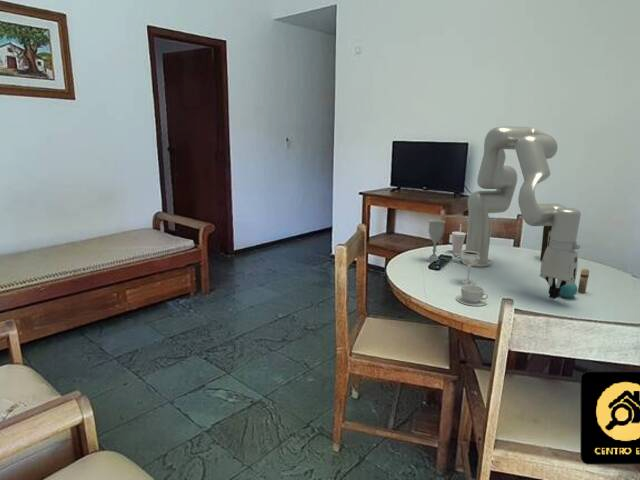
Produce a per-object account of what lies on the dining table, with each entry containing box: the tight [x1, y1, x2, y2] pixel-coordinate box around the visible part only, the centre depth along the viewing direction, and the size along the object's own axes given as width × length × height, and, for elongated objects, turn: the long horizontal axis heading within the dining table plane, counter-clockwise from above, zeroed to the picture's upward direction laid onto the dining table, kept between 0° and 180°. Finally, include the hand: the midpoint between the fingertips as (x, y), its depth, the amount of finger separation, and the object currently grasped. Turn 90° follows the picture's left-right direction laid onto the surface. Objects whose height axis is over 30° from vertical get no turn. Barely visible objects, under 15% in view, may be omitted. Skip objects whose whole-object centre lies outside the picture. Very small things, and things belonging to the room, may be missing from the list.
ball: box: [560, 282, 578, 298], centre depth 149 cm, size 6×6×6 cm
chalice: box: [427, 219, 446, 263], centre depth 186 cm, size 7×7×18 cm
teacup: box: [455, 284, 489, 307], centre depth 144 cm, size 10×10×5 cm
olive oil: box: [540, 226, 552, 262], centre depth 188 cm, size 11×11×25 cm
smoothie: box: [451, 223, 467, 254], centre depth 200 cm, size 6×6×14 cm
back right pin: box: [577, 268, 590, 294], centre depth 153 cm, size 2×2×8 cm
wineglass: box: [460, 249, 480, 285], centre depth 161 cm, size 7×7×12 cm
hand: (553, 297), depth 145 cm, fingers closed
